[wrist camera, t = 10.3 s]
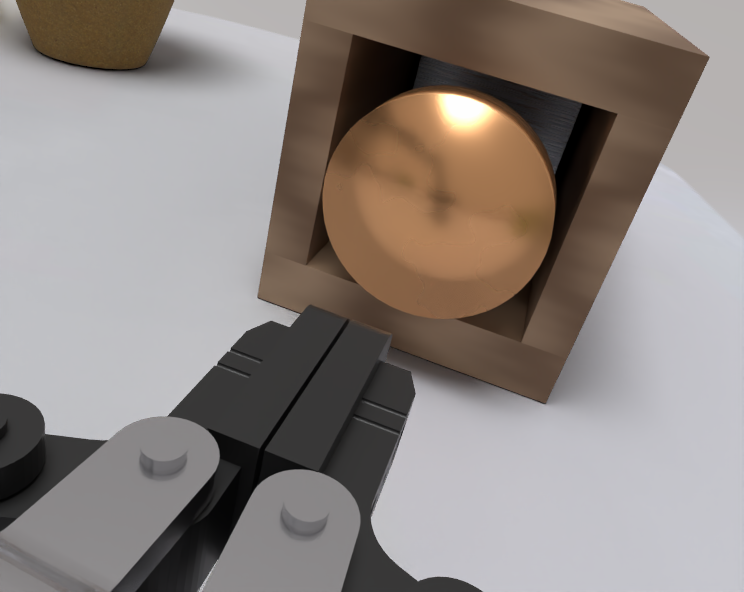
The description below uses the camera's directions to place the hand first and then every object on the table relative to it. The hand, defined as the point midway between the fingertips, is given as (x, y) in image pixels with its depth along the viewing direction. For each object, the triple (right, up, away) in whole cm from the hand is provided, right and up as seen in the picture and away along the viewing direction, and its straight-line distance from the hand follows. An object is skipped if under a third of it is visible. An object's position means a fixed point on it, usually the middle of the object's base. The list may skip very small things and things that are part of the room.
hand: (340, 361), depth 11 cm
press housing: (+5, +4, +23) cm, 24 cm away
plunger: (+4, +5, +19) cm, 20 cm away
